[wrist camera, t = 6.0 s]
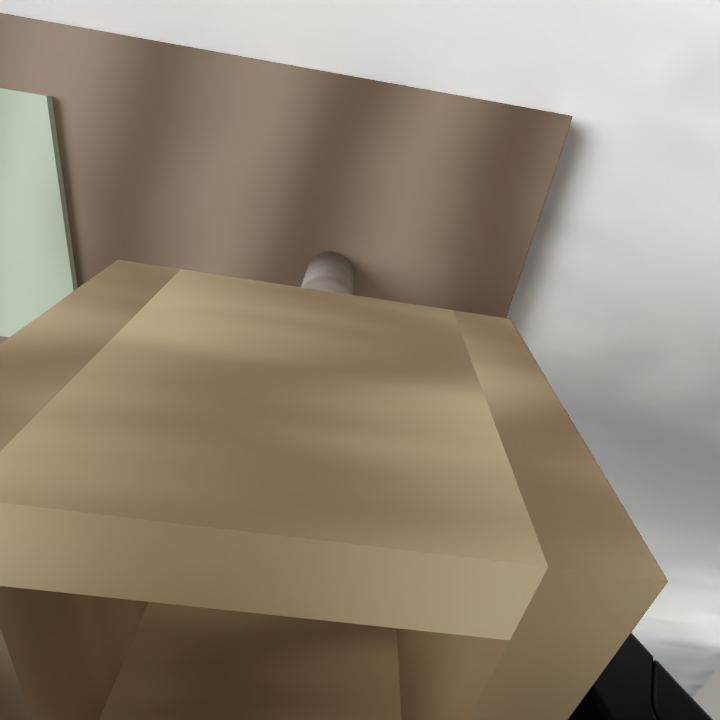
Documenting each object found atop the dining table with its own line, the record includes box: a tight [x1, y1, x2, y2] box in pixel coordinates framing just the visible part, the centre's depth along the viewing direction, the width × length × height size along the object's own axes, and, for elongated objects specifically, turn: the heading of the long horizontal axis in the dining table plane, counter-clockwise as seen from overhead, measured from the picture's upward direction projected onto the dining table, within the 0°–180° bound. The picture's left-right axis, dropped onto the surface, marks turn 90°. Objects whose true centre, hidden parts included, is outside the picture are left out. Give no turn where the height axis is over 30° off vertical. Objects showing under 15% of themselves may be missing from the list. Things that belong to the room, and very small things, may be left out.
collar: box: [0, 260, 668, 720], centre depth 7 cm, size 6×6×5 cm
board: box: [0, 13, 573, 344], centre depth 16 cm, size 28×13×6 cm, turn 81°
